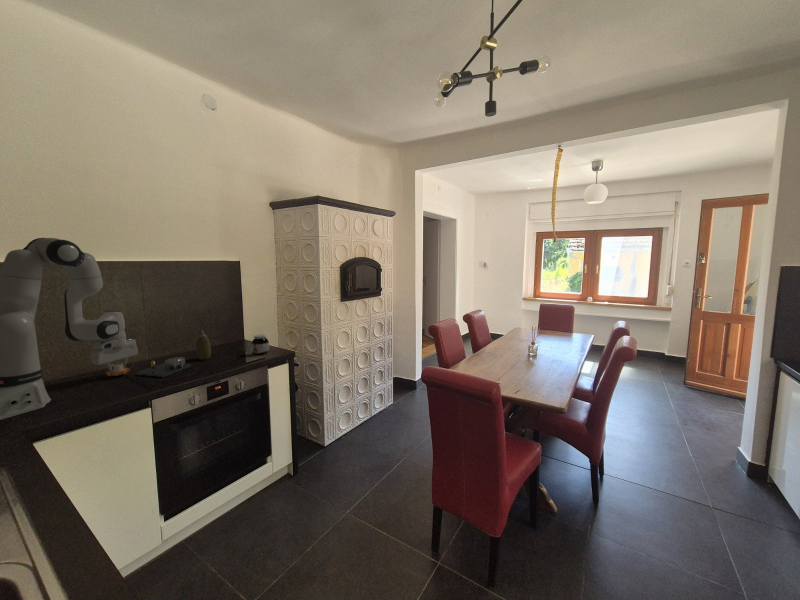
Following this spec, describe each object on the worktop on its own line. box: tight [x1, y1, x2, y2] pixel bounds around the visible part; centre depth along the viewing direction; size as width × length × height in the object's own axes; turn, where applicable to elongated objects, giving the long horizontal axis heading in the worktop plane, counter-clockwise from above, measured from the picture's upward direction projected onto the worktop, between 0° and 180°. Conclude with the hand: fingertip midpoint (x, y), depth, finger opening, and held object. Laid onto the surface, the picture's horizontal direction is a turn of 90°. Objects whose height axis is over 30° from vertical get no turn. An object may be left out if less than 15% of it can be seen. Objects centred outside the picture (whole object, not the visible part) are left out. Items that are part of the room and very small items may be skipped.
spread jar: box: [246, 333, 270, 356], centre depth 205 cm, size 12×11×12 cm
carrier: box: [136, 356, 192, 378], centre depth 174 cm, size 17×17×6 cm
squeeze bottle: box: [195, 328, 212, 361], centre depth 195 cm, size 8×8×18 cm
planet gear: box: [105, 362, 130, 377], centre depth 166 cm, size 9×9×4 cm
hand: (117, 368), depth 166 cm, fingers closed on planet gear, 5 cm apart
